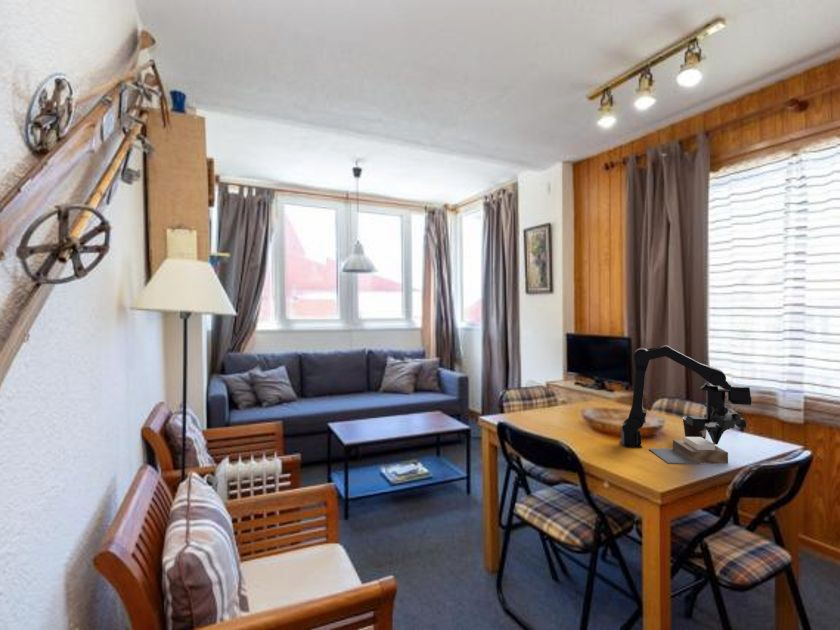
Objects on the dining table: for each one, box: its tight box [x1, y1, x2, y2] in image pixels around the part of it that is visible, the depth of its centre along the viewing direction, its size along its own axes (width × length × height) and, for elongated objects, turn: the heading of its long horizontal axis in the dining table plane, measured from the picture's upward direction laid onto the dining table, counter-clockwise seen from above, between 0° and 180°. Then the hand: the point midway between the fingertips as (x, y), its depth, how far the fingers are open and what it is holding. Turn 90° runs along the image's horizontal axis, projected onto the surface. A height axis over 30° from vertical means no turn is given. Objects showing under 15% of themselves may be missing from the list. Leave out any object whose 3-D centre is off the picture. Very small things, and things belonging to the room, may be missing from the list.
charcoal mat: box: [648, 448, 701, 465], centre depth 158 cm, size 11×15×1 cm
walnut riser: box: [672, 439, 729, 465], centre depth 158 cm, size 12×14×4 cm
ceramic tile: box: [683, 436, 716, 450], centre depth 158 cm, size 6×9×2 cm, turn 175°
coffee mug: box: [682, 416, 708, 440], centre depth 172 cm, size 12×9×10 cm
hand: (715, 444), depth 157 cm, fingers closed
